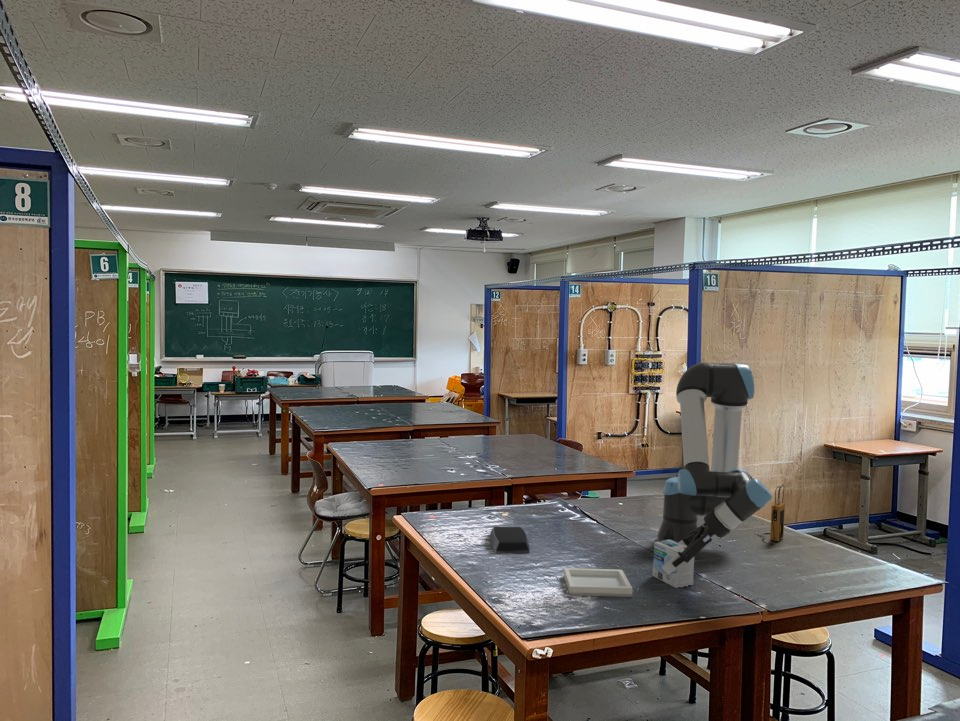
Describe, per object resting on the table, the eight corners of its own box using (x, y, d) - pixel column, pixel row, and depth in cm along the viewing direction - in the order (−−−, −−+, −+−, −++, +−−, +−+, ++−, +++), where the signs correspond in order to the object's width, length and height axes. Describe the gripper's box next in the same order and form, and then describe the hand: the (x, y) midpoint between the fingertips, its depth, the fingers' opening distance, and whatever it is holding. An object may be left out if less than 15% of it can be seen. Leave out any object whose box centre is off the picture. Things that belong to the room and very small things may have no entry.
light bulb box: (651, 576, 203) (653, 541, 202) (668, 573, 206) (670, 538, 205) (676, 588, 193) (678, 552, 193) (694, 585, 196) (695, 549, 196)
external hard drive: (492, 554, 220) (492, 541, 220) (488, 535, 239) (488, 524, 239) (531, 554, 221) (532, 542, 221) (524, 536, 240) (524, 525, 240)
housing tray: (563, 576, 201) (564, 568, 200) (621, 577, 200) (621, 569, 200) (569, 595, 186) (570, 586, 186) (632, 597, 186) (632, 588, 186)
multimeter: (758, 530, 254) (760, 478, 253) (786, 536, 247) (789, 482, 246) (745, 539, 242) (748, 484, 241) (774, 545, 236) (777, 489, 235)
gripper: (732, 542, 181) (672, 588, 187) (731, 519, 205) (678, 560, 210) (712, 521, 183) (653, 566, 189) (713, 500, 206) (661, 541, 212)
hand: (666, 563), depth 200 cm, fingers open, 13 cm apart
